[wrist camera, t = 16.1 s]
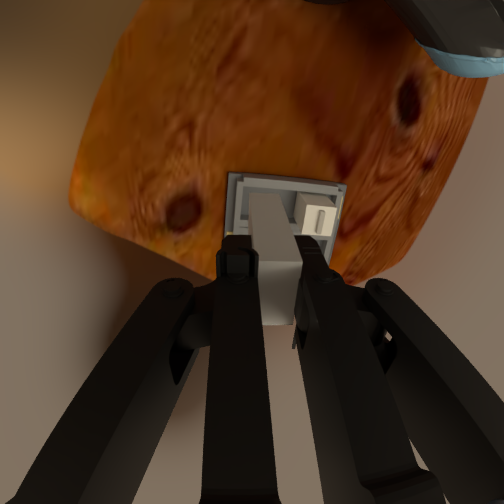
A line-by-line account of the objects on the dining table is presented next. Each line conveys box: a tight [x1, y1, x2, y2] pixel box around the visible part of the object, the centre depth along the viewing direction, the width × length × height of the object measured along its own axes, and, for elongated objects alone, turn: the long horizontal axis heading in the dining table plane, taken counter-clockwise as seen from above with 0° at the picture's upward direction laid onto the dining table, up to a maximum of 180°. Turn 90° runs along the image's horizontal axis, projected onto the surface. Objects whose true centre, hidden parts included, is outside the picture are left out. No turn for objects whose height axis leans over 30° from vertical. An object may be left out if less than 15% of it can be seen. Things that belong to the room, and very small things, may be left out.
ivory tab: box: [293, 191, 337, 236], centre depth 40 cm, size 4×4×7 cm
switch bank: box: [224, 172, 347, 266], centre depth 44 cm, size 14×17×3 cm
